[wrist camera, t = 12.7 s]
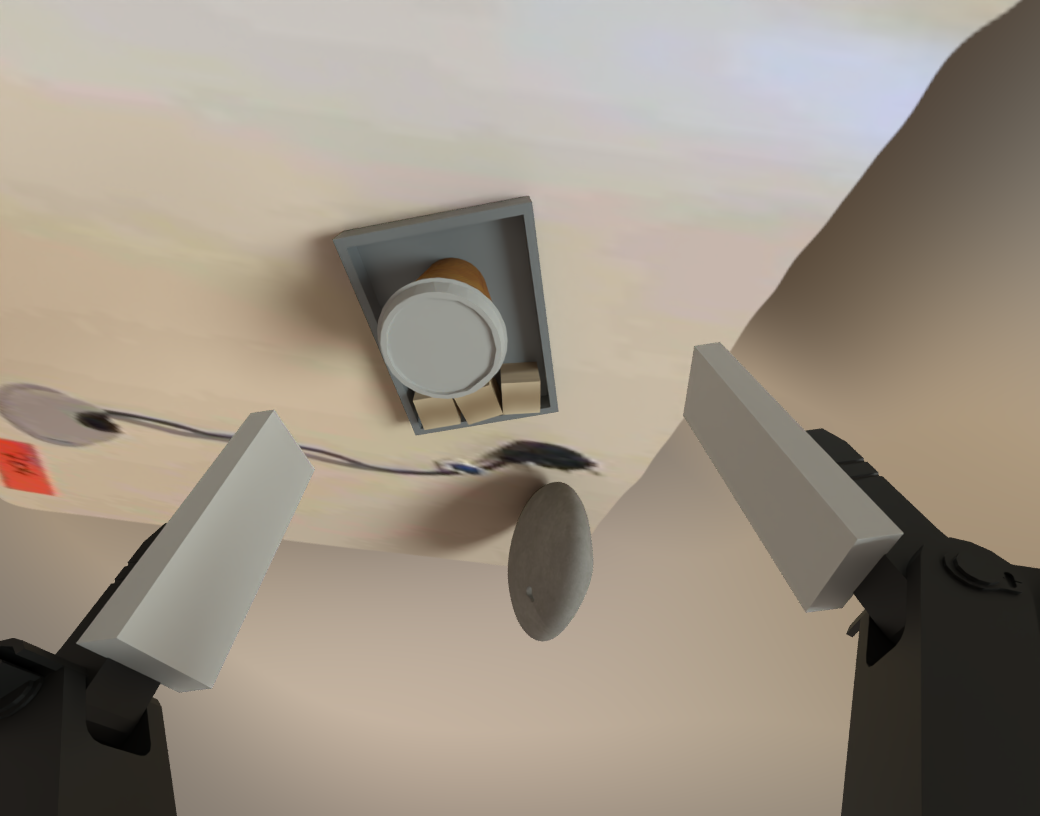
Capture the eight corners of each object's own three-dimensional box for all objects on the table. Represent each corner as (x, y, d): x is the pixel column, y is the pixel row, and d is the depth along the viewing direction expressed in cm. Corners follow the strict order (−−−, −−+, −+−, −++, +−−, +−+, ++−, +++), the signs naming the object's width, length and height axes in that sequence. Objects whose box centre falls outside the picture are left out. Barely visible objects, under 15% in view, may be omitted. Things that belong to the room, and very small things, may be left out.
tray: (343, 231, 34) (332, 239, 32) (528, 195, 34) (531, 201, 31) (419, 419, 47) (415, 435, 45) (554, 396, 47) (558, 411, 44)
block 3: (500, 363, 43) (501, 383, 40) (536, 361, 43) (540, 381, 40) (502, 393, 45) (503, 414, 42) (536, 391, 45) (540, 412, 42)
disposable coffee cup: (424, 344, 41) (403, 414, 31) (388, 251, 35) (348, 301, 26) (513, 325, 40) (520, 390, 31) (490, 227, 35) (490, 269, 25)
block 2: (455, 376, 43) (453, 396, 40) (489, 365, 43) (489, 385, 40) (470, 403, 46) (468, 424, 43) (502, 393, 45) (503, 414, 42)
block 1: (418, 379, 43) (412, 400, 40) (453, 373, 43) (450, 394, 40) (428, 408, 46) (424, 430, 43) (462, 402, 46) (460, 424, 42)
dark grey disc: (533, 538, 63) (548, 669, 48) (493, 530, 61) (494, 664, 46) (590, 461, 54) (630, 594, 39) (543, 447, 52) (566, 583, 37)
